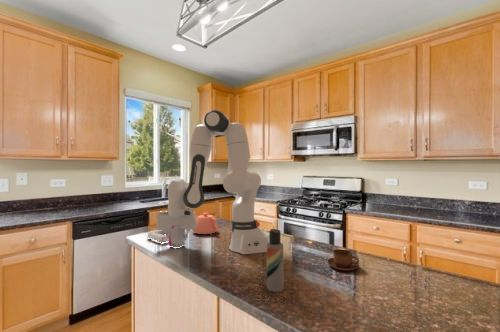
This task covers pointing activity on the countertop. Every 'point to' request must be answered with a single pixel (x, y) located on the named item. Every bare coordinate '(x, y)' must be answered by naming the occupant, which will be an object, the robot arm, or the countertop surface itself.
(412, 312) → the countertop surface
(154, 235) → the frame
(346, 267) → the cup and saucer
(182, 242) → the supplement box
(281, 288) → the lotion bottle
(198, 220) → the teapot
